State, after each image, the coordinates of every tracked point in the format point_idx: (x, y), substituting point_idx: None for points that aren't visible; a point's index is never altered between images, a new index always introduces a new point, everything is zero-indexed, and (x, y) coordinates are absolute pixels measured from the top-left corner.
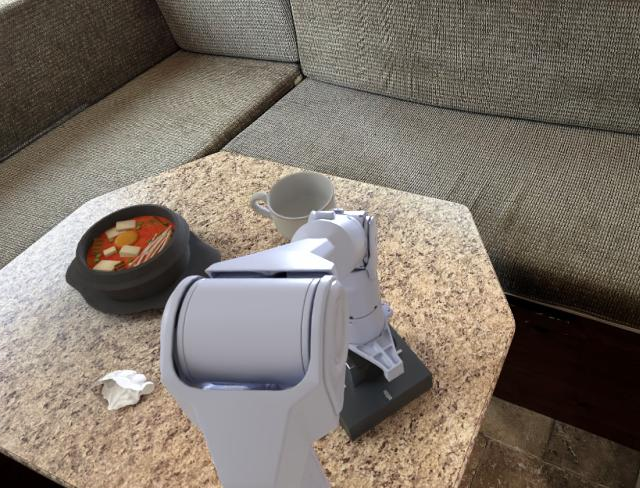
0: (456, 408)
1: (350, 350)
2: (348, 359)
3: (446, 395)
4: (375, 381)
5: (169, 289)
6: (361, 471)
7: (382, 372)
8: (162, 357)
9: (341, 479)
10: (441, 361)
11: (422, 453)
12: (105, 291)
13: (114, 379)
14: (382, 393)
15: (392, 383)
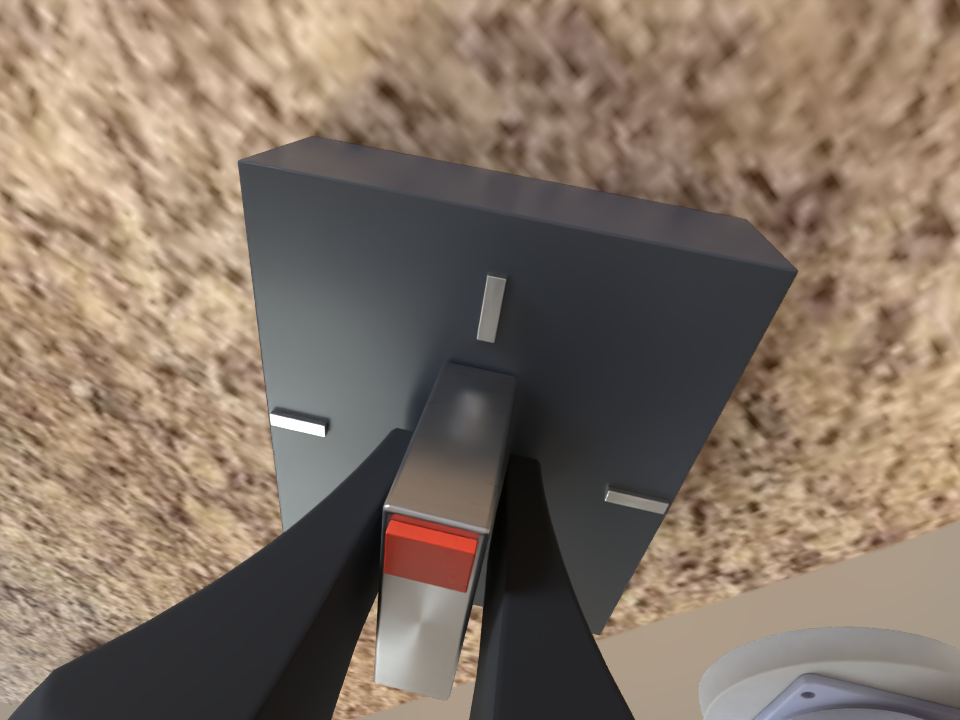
0: (952, 232)
1: (349, 657)
2: (392, 676)
3: (851, 208)
4: None
5: None
6: (688, 589)
7: (541, 477)
8: None
9: (651, 619)
10: (695, 34)
11: (868, 473)
12: None
13: None
14: (606, 503)
15: (611, 449)
